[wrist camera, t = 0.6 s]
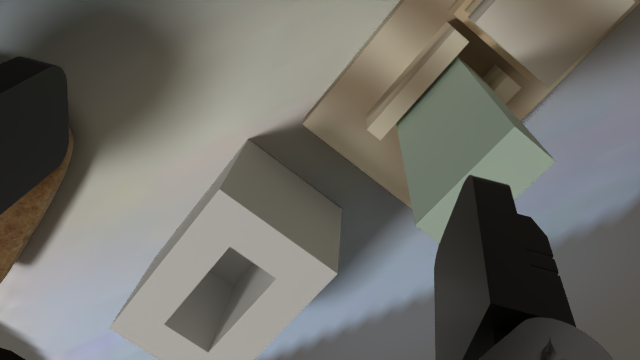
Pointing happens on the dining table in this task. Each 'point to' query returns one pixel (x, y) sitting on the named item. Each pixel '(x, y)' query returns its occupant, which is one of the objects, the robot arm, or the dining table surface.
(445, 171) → the tall sheet
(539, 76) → the offcut stack
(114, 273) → the dining table surface
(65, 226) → the dining table surface
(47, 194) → the stone cup
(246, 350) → the sheet stand
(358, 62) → the rack
